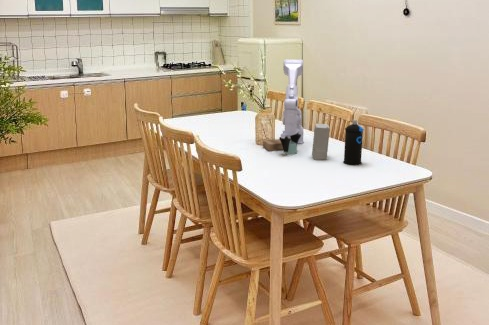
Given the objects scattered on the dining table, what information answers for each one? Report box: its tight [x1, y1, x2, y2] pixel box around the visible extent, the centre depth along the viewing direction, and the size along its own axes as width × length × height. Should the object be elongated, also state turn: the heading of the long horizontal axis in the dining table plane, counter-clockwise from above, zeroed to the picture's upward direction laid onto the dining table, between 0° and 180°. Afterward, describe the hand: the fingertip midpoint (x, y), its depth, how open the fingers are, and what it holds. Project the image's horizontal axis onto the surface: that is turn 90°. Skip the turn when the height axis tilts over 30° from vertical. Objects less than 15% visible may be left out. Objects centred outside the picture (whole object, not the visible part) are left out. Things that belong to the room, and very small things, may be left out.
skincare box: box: [311, 123, 331, 161], centre depth 247 cm, size 8×7×16 cm
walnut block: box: [262, 138, 284, 153], centre depth 266 cm, size 9×9×4 cm
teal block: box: [282, 142, 298, 155], centre depth 258 cm, size 5×5×5 cm
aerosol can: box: [342, 119, 365, 166], centre depth 238 cm, size 8×8×20 cm
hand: (290, 150), depth 258 cm, fingers closed on teal block, 7 cm apart
